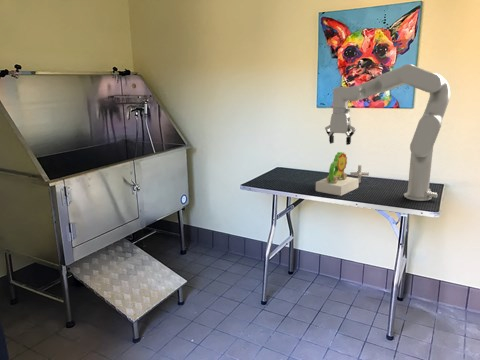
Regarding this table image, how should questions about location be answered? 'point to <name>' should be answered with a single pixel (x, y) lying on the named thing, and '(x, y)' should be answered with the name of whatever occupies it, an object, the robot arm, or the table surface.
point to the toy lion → (337, 168)
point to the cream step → (337, 186)
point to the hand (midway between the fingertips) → (339, 143)
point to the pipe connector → (359, 173)
